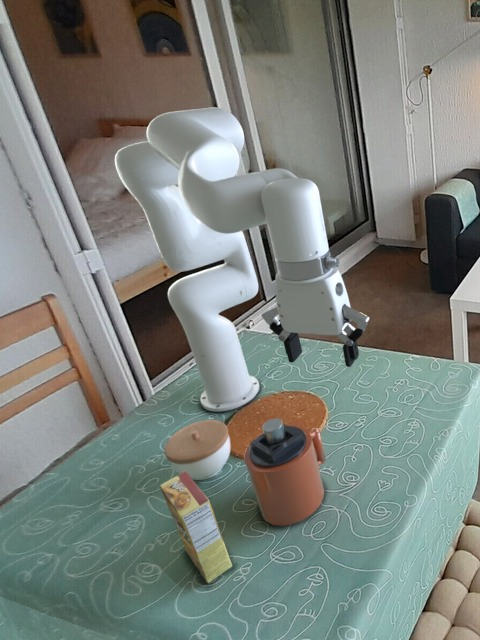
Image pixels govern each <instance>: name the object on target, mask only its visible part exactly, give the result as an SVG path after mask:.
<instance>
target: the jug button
mask: <svg viewBox="0 0 480 640" xmlns="http://www.w3.org/2000/svg"><path fill="white" fill-rule="evenodd" d="M283 424H284V422H283V420H282V419H280V418H271V419H269V420H267V421H266V422H264V423H263V425H262V433H264V436H265V439H266V442H267V443H268V444H269V445H276V444H279V443H281V442H282V441H283V440H284V439H285V438H286V433H285V429H284V425H283Z"/></svg>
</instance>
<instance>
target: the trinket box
mask: <svg viewBox="0 0 480 640" xmlns="http://www.w3.org/2000/svg"><path fill="white" fill-rule="evenodd" d="M231 444H232V443H231V438H230V435H229V430H228V427H227V425H226V424H225V423H224V422H223V421H220V420H217V419H204V420H198V421H195V422H193V423H190V424H187V425H186V426H184V427H182V428H180V429H179V430H177V431H176V432H174V433H173V434H172V435H171V436H170V437H169V439H168V440H167V441H166V443H165V446H164V448H163V449H164V450H163V453H164V455H165V457H166V459H167V460H168V462H169V464H170V466H171V467H172V469H173V471H174V472H176V474H177V475H180V474H182V473H183V472H185V471H187V473H188V474H189V475H190V477H191V478H192V479H193V481H204V480H208V479H211V478H213V477H214V476H216V475H217V474H219V473H220V471H222V469H223V468H224V466H225V465H226V463H227V462H228V460H229V457H230V454H231V450H232V448H231V447H232V446H231Z"/></svg>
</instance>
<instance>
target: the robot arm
mask: <svg viewBox="0 0 480 640" xmlns="http://www.w3.org/2000/svg"><path fill="white" fill-rule="evenodd" d="M244 146H245V134H244V129H243V128H242V125H241V123H240V121H239V120H238V118H237V117H236V116H235V115H234V114H233V113H232V112H230V111H229V110H226V109H224V108H221V107H216V106H215V107H214V106H212V107H205V108H203V107H202V108H196V109H185V110H176V111H169V112H165V113H161V114H159V115H157V116H156V117H154V118H153V119H151V120H150V122H149V124H148V126H147V128H146V141H140V142H136V143H131V144H129V145H126V146H123V147H122V148H120V149H119V150H117V152H116V153H115V156H114V165H115V170H116V172H117V175H118V176H119V178H120V181H121V182H122V184H123V185H124V187H125V188H126V189H127V191H128V192H129V193H130V194H131V196H132V197H133V198H134V199H135V200H136V201H137V203H138V204H139V206H140V208H142V210H143V212H144V214H145V217H146V220H147V223H148V225H149V228H150V231H151V233H152V237H153V239H154V241H155V244H156V247H157V249H158V251H159V254H160V256H161V259H162V261H163V263H164V264H165V266H166V267H167V268H168V269H169V270H171V271H173V272H179V273H181V272H188V271H192V270H195V269H199V268H201V267H204V266H207V265H211V264H214V263H217V262H220V261H224V263H223V264H219V265H216V266H213V267H210V268H207V269H204V270H200V271H198V272H195V273H192V274H189V275H186V276H184V277H182V278H179V279H177V280H176V281H174V282H173V283H172V284H171V285H170V286H169V288H168V290H167V299H168V302H169V305H170V307H171V308H172V310H173V312H174V313H175V315H176V317H177V318H178V320H179V322H180V324H181V326H182V329H183V331H184V333H185V336H186V339H187V342H188V345H189V347H190V351H191V353H192V356H193V358H194V359H193V360H194V362H195V365H196V367H197V371H198V373H199V377H200V379H201V383H202V385H203V388H204V390H203V391H202V393H201V394H200V399H199V401H200V403H201V406H202V408H203V409H204V410H207V411H210V412H217V413H218V412H228V411H232V410H234V409H237V408H240V407H242V406H244V405H246V404H247V403H249V402H250V401H252V400H253V399H254V398H255V397H256V395H257V394H258V393H259V391H260V383H259V380H258V379H257V378H256V377H255V376H253V375H250V374H249V371H248V370H249V369H248V366H247V364H246V359H245V357H244V356H245V355H244V352H243V349H242V346H241V342H240V339H239V335H238V332H237V329H236V326H235V325H234V323H233V322H232V321H231V320H230V319H228V318H226V317H225V316H222V315H220V313H222V312H224V311H225V310H229V309H230V308H232V307H236V306H238V305H240V304H243V303H245V302H247V301H250V300H252V299H253V298H255V297H256V296H257V294H258V292H259V282H258V281H259V280H258V276H257V273H256V270H255V267H254V263H253V259H252V257H251V254H250V250H249V246H248V243H247V240H246V237H245V234H244V231H247V230H249V229H253V228H256V227H260V226H264V225H267V229H268V234H269V238H270V243H271V248H272V252H273V256H274V261H275V265H276V270H277V272H276V274H275V281H274V282H275V283H274V285H275V286H274V288H275V290H274V291H275V301H276V304H275V305H274V306H272V307H270V308H267V309H265V311H264V312H262V313H261V318H262V319H263V320H264V321H265V323H266V324H267V325H268V326H269V327H268V328H269V329H270V331H272V332H273V333H275V334H276V335H277V336H278V337H277V338H278V340H279V341H281V342H283V346H284V351H285V354H286V356H287V359H288V362H289V363H295V361H297V359H298V358H299V357H300V355H302V353H303V348H302V344H301V339H300V335H299V334H306V335H318V336H319V335H320V336H321V335H322V336H336V337H337V338H338V339H339V340H340V341H342V343H344V344H343V345H342V353H343V358H344V364H345V366H346V367H347V368H351V367H352V366H353V364H354V363H355V362H356V360H357V359H358V358H359V355H360V352H359V346H358V340H359V339H360V338H361V337H362V335H363V334H364V333H365V331H366V329H367V327H368V324H369V322H370V319H371V318H370V317H369V316H368V315H367V314H364V313H362V312H360V311H358V310H357V309H354V308H352V307H351V303H350V299H349V295H348V291H347V289H346V285H345V282H344V280H343V276H342V275H341V273H340V270H339V268H338V267H339V265H340V259H339V258H337V257H334V256H332V253H331V250H330V248H329V242H328V237H327V231H326V226H325V225H326V223H325V219H324V214H323V208H322V201H321V196H320V191H319V188H318V186H317V184H316V183H315V182H313V181H312V180H311V179H307V178H302V177H298V176H297V175H295V174H294V173H293V172H291V171H289V170H287V169H285V168H282V167H281V168H279V167H275V168H270V169H264V170H260V171H255V172H249V173H244V174H240V175H237V173H238V172H239V168H240V162H241V161H240V154H241V152H242V151H243V149H244ZM176 185H177V186H176ZM277 316H278V317H277ZM350 322H352V323H353V322H354V323H355V324H356V328H355V327H354V326H353V325H352V324H351V323H350Z"/></svg>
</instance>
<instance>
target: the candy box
mask: <svg viewBox="0 0 480 640" xmlns="http://www.w3.org/2000/svg"><path fill="white" fill-rule="evenodd" d="M159 489H160V491H161V493H162V496H163V498H164V501H165V503H166V505H167V508H168V511H169V513H170V515H171V519H172V520H173V522H174V525H175V527H176V530H177V532H178V534H179V537H180V539H181V542H182V544H183V546H184V549H185V552H186V553H187V554H188V556H189V558H190V559H191V561H192V562H193V564H194V566H195V567H196V568H197V570H198V571H199V573H200V574H201V576H202V577H203V578H204V580H205V582H206V583H207V584H210V583H212V582H213V581H214V580H215V579H217V578H218V577H219V576H220V575H222V574H223V573H225V572H226V571H228V570H230V569H231V568H232V567H233V564H232V561H231V558H230V555H229V552H228V550H227V547H226V544H225V541H224V538H223V534H222V532H221V530H220V527H219V524H218V521H217V518H216V516H215V512H214V510H213V507H212V504H211V502H210V500H209V498H208V497H207V495H206V494H205V493H204V492H203V490H202V489H201V488H200V487H199V486H198V484H197V483H196V482H195V480H194V479H192V478H191V477H190V475H189V474H188V473H187V471H185V472H183V473H182V474H180V475H179V474H177V475H176V476H174V477H172V478H171V479H168V480H167V481H164V482H163V483H161V484H159Z"/></svg>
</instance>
